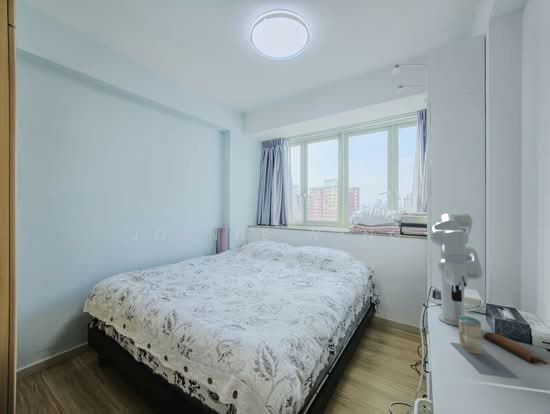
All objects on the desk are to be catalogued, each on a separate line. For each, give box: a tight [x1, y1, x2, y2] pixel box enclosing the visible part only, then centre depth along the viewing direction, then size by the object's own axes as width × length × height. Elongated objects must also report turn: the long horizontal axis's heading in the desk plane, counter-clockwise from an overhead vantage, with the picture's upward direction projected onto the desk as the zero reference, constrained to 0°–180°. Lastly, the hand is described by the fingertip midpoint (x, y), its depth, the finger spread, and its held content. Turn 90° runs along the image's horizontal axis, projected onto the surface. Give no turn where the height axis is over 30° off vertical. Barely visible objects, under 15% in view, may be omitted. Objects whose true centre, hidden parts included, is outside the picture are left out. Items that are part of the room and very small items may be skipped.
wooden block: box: [458, 315, 483, 354], centre depth 92 cm, size 5×5×12 cm
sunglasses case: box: [483, 332, 550, 366], centre depth 92 cm, size 18×7×7 cm
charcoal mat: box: [449, 341, 520, 380], centre depth 86 cm, size 20×11×1 cm, turn 167°
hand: (456, 300), depth 101 cm, fingers closed
